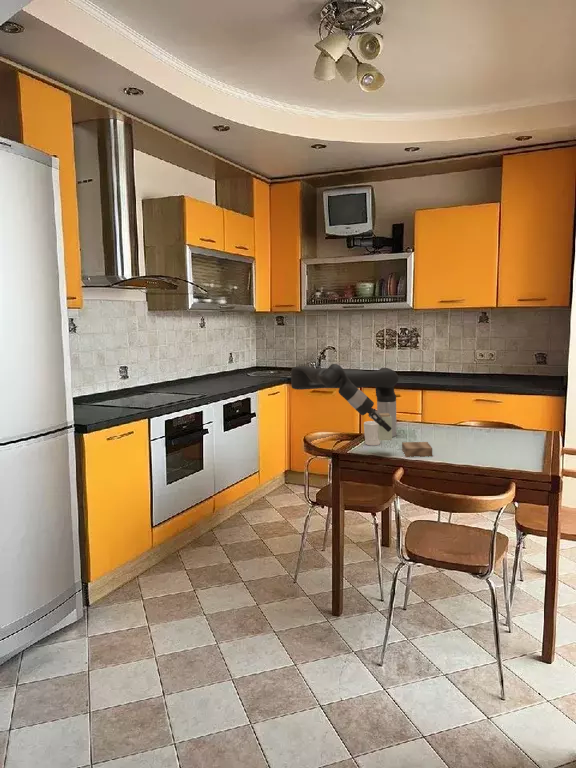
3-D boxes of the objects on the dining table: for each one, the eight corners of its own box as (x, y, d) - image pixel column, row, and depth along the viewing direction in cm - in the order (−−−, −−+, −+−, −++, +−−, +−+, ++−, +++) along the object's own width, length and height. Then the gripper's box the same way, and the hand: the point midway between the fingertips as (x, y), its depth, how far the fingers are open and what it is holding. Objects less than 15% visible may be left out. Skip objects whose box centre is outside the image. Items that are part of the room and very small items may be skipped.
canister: (379, 440, 242) (378, 415, 240) (377, 437, 247) (377, 413, 246) (392, 440, 242) (391, 415, 240) (390, 437, 247) (389, 412, 246)
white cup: (364, 445, 261) (363, 424, 260) (364, 441, 269) (363, 421, 268) (381, 445, 260) (381, 424, 259) (381, 441, 268) (380, 420, 267)
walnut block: (405, 457, 241) (405, 448, 240) (402, 451, 251) (402, 442, 251) (432, 457, 240) (432, 448, 239) (427, 450, 251) (427, 441, 250)
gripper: (352, 405, 250) (380, 431, 251) (355, 411, 236) (385, 438, 237) (364, 393, 249) (392, 419, 250) (368, 398, 235) (397, 425, 236)
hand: (388, 428), depth 244 cm, fingers closed on canister, 5 cm apart
